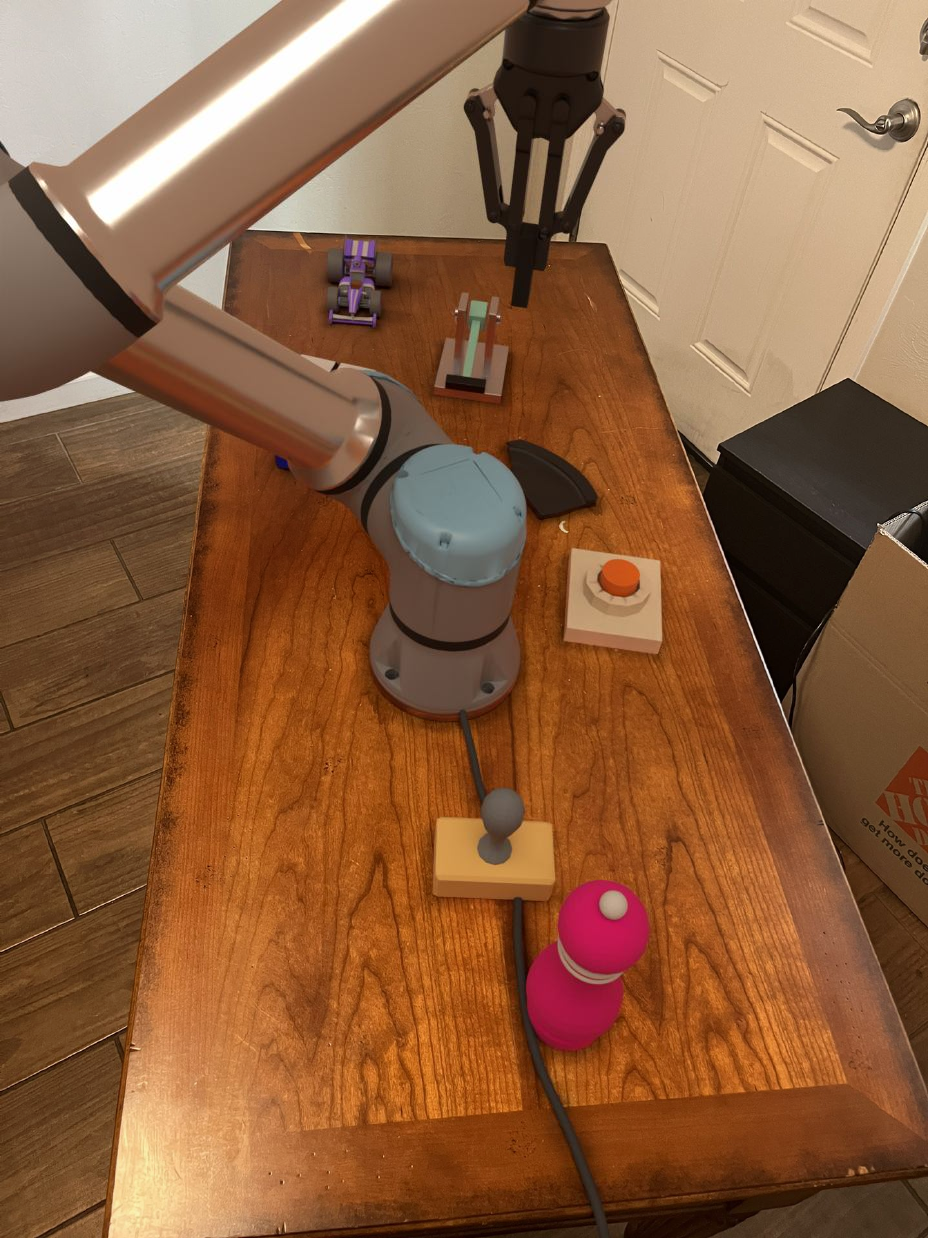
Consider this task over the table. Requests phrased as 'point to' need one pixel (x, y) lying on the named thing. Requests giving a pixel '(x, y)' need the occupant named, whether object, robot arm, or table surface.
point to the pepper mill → (586, 965)
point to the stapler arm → (471, 352)
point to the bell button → (619, 578)
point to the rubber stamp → (494, 853)
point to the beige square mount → (612, 605)
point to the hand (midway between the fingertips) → (520, 299)
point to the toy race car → (357, 280)
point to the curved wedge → (549, 480)
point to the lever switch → (486, 361)
